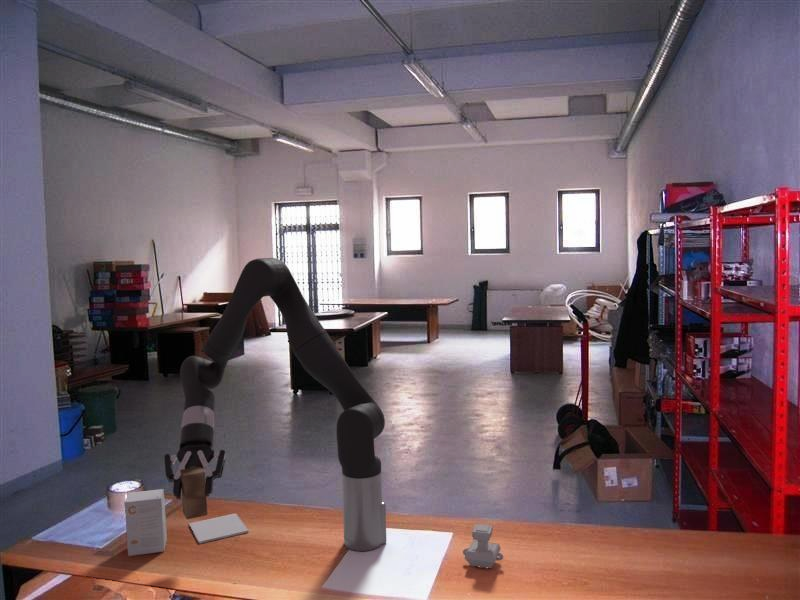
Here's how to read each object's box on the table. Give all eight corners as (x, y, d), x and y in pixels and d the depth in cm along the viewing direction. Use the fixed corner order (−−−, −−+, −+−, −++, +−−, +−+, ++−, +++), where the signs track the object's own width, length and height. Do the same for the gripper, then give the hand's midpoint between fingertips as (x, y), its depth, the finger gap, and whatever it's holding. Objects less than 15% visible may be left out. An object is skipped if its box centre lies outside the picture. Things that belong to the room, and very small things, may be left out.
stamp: (505, 560, 146) (505, 523, 145) (500, 574, 140) (500, 536, 139) (466, 554, 149) (465, 518, 148) (459, 568, 142) (458, 531, 142)
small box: (167, 540, 159) (164, 488, 158) (164, 552, 153) (161, 498, 152) (131, 544, 157) (128, 492, 156) (127, 557, 151) (124, 502, 150)
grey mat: (235, 515, 173) (235, 513, 173) (248, 532, 163) (248, 530, 163) (189, 525, 167) (188, 523, 167) (199, 543, 157) (199, 541, 157)
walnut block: (203, 508, 152) (200, 466, 151) (207, 515, 148) (204, 471, 147) (183, 512, 150) (180, 469, 149) (186, 519, 146) (183, 475, 145)
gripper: (163, 423, 154) (155, 492, 143) (226, 419, 156) (223, 486, 145) (169, 439, 159) (162, 506, 149) (230, 434, 161) (227, 500, 151)
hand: (192, 496), depth 147 cm, fingers closed on walnut block, 5 cm apart
